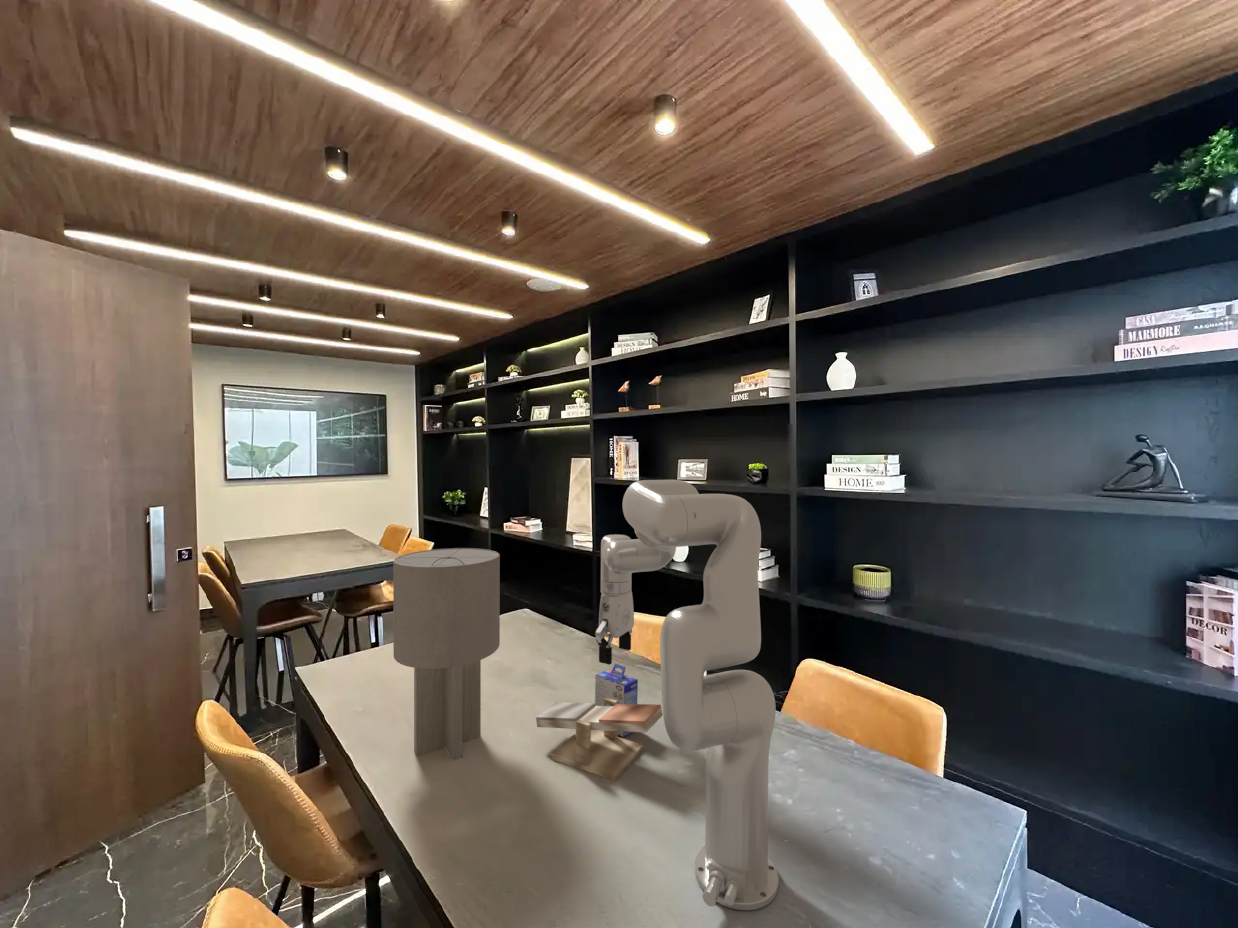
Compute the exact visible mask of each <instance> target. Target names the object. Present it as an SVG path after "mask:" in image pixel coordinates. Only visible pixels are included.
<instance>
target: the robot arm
mask: <svg viewBox="0 0 1238 928" xmlns="http://www.w3.org/2000/svg"><path fill="white" fill-rule="evenodd" d="M624 492H625V493H624V494H623V497H622V512H623V513H622V514H623V515H624V518H625V520H626V521H627V523H628V524H629V525H630V526H631V527H632V528H633V529H634V533H635V535H636V537H637V538H635V539H632V538H631V537H630V536H628V535H626V534H607V535H604V536H603V537H602V539H601V540H600V541H601V542H600V593H601V594H600V601H599V613H598V627H597V628H596V630H595V633H594V635H595V638H596V643H597V647H598V661H599V663H601V664H605V665H609V666H610V665H612V663H613V656H612V655H613V646H612V647H611V645H612V642H613V640H614V639H618V648H619V649H621V650H623V651H624V650H625V651H630V650H632V633H633V627H634V625H635V617H634V616H635V612H634V597H633V592H632V591H633V590H632V574H633V573H642V572H644V573H645V572H654V571H659V570H661V569H663V568H664V567H665V566H667V564H669V563H670V562H671V561H672V559H674V557H675V555H676V551H677V548H679V547H693V546H694V547H695V546H703V545H716V548H714V550H713V551H712V553H711V554H710V556H709V558H708V560H707V562H706V565H705V567H704V570H703V576H702V579H703V580H702V582H703V599H702V603H701V604H694V605H688V606H687V605H686V606H681V607H679V608H675V609H673V610H672V611H670V612H669V613H668V614H667V615H666V616H665V618H664V620H663V623H662V626H661V629H660V635H659V636H660V637H659V650H660V651H659V652H660V653H659V655H660V677H661V678H660V679H661V680H660V681H661V683H660V684H661V701H662V702H661V708H662V714H663V715H662V717H663V722H664V727H665V730H666V734H667V736H668V737H669V739H670V741H671V743H672V744H673V745H674V746H675V747H676V748H678V749H679V750H681V751H685V752H694V751H695V752H696V751H700V750H703V749H704V750H705V749H707V751H706V756H705V757H706V758H705V772H704V773H705V774H704V775H705V782H704V783H705V788H704V789H705V799H704V800H705V804H704V805H705V807H704V808H705V812H704V813H705V816H704V817H705V819H704V820H705V828H704V830H705V831H704V832H705V835H704V837H705V838H704V839H705V840H704V842H705V844H704V846H702V848H701V849H700V850H699V851H698V853H697V855H696V857H695V861H694V863H695V864H694V872H695V877H696V880H697V882H698V884H699V887H701V889H702V890H703V894H702V900H703V902H704V903H705V904H706V905H707V906H708V907H714V906H716V903H718V904H720V905H722V906H724V907H727V908H730V909H735V910H738V911H753V910H754V911H755V910H758V909H761V908H763V907H766V906H767V905H769V904H771V902H773V900H774V899H775V897H776V896H777V894H778V890H779V873H778V870H777V867H776V865H775V864H774V861H772V859H771V858H770V857H769V761H770V760H769V759H770V758H769V757H770V748H771V747H770V746H771V740H772V736H773V731H774V728H775V727H774V726H775V721H776V710H777V708H776V706H777V705H776V700H775V695H774V692H773V689H772V687H771V685H770V684H769V681H767V680H766V679H765V677H763V676H762V675H761V674H758V672H755V671H752V670H748V669H747V670H746V669H733V670H726V671H721V672H718V673H710V674H708V675H705V673H706V672H707V671H713V670H718V669H722V668H728V667H733V666H738V665H741V664H746V663H749V662H750V661H753V660H754V659H755V658H756V657H758V655H759V653H760V651H761V645H762V629H761V628H762V626H761V624H762V623H761V607H760V591H759V590H760V589H759V576H758V575H759V562H760V561H759V560H760V554H761V545H762V543H761V542H762V530H761V529H762V528H761V523H760V519H759V516H758V514H757V512H756V510H755V508H754V507H753V505H752V504H751V503H750V502H748V501H747V500H746V499H745V498H743V497H741V496H738V495H734V494H726V493H699V491H698V490H697V488H696V487H695V486H694V485H692V484H691V483H689V482H688V481H685V480H681V479H643V480H638V481H637V480H636V481H634V482H632V483H631V484H630V485H629V487H627V488H626V491H624ZM605 638H607V640H606V639H605Z"/></svg>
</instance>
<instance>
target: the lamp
mask: <svg viewBox="0 0 1238 928" xmlns="http://www.w3.org/2000/svg"><path fill="white" fill-rule="evenodd" d="M500 556H501V554H500V553H499V552H497V551H495V550H491V549H486V548H475V547H474V548H473V547H453V548H435V549H428V550H427V549H425V550H421V551H413V552H409V553H405V554H402V555H399V556H398V557H395V558H394V559H393V571H392V573H393V580H392V581H393V599H392V600H393V610H392V611H393V615H392V616H393V617H392V619H393V620H392V621H393V631H392V632H393V638H392V639H393V659H394V660H395V661H396V662H397V663H398V664H400V665H402V666H405V667H409V668H413V669H414V670H413V705H414V706H413V708H414V710H413V721H414V723H413V726H414V727H413V730H414V731H413V732H414V733H413V734H414V735H413V745H414V746H413V752H414V753H415V755H416V756H417V757H418V756H420V755H423V754H427V753H430V752H434V751H436V750H441V749H443V748H444V749H445V750H446V752H447V754H448V756H449V758H450V759H451V761H454V760H458V759H460V758H463V743H464V742H466V741H470V740H473V739H476V738H480V737H481V736H482V735H481V734H482V733H481V729H482V728H481V727H482V726H481V722H482V721H481V720H482V718H481V715H482V714H481V713H482V712H481V710H482V708H481V704H482V703H481V697H482V695H481V691H482V689H481V685H482V684H481V683H482V682H481V681H482V680H481V679H482V678H481V675H482V674H481V672H482V669H481V668H482V667H481V662H482V660H484V659H486V658H488V657H490V656H491V655H493V654H494V653H496V652H497V650H498V649H499V648H500V644H501V643H500V637H501V635H500V631H501V630H500V629H501V628H500V627H501V626H500V625H501V624H500V620H501V619H500V616H501V615H500V614H501V612H500V611H501V610H500V608H501V607H500V605H501V604H500V603H501V601H500V598H501V597H500V595H501V593H500V591H501V590H500V589H501V588H500V587H501V586H500V585H501V584H500V583H501V582H500V581H501V580H500V579H501V578H500V577H501V575H500V573H501V572H500V569H501V565H500V562H501V561H500V560H501V559H500V558H501V557H500Z"/></svg>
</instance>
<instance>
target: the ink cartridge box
mask: <svg viewBox="0 0 1238 928" xmlns="http://www.w3.org/2000/svg"><path fill="white" fill-rule="evenodd" d="M616 669H620V670H621V671H618V670H616ZM626 669H627V668H626V666H623V665H620V664H617V663H614V664H613V667H612V669H606V670H603V671H601V672H599V673H597V674H595V678H594V682H595V683H594V686H595V687H594V703H595V706H604V699H605V698H610V699H614V700H617V704H638V690H639V689H638V684H639V680H638V678H635V677H632V676H629V675H626V674H625V672H626ZM632 733H633V732H625V731H617V736H620V737H621V738H624V737H625V736H627V735H629V734H632Z"/></svg>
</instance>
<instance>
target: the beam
mask: <svg viewBox="0 0 1238 928" xmlns="http://www.w3.org/2000/svg"><path fill="white" fill-rule="evenodd" d="M662 717H663V708H662V704H654V703H653V704H650V703H648V704H647V703H645V704H643V703H637V704H616V705H615V706H611V705H609V704H607V705H606V706H595V702H559V701H558V702H555V703H553V704H552V705H550V706H549V707H548V708H547V709H545V710H544V711H541V712H540V714H538V715H537V716H535V720H536V727H537V728H547V729H548V728H549V729H566V730H568V729H570V730H576V722H577V721H578V720H581V721H585V722H588V723H591V730H596V731H604V730H605V731H625V732H632V733H648V732H649V730H651V728H652V727H653V726H655V724H656V723H657V722H658V721H659V720H660V719H661V718H662Z"/></svg>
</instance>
